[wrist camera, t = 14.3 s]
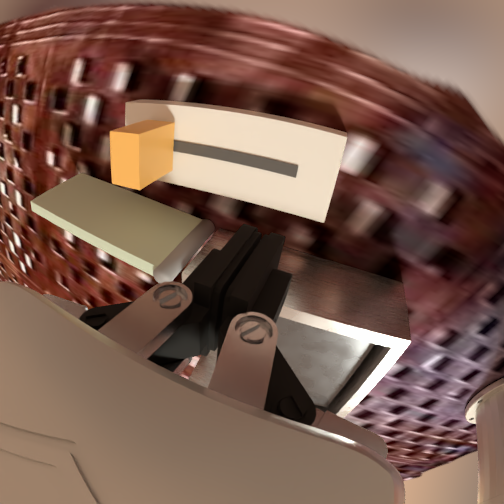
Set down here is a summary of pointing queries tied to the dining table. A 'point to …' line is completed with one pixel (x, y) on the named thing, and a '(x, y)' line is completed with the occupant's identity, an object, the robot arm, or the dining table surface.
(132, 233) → the door
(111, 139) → the fader knob
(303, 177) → the fader panel
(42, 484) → the robot arm
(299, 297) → the grey open tray
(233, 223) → the dining table surface
